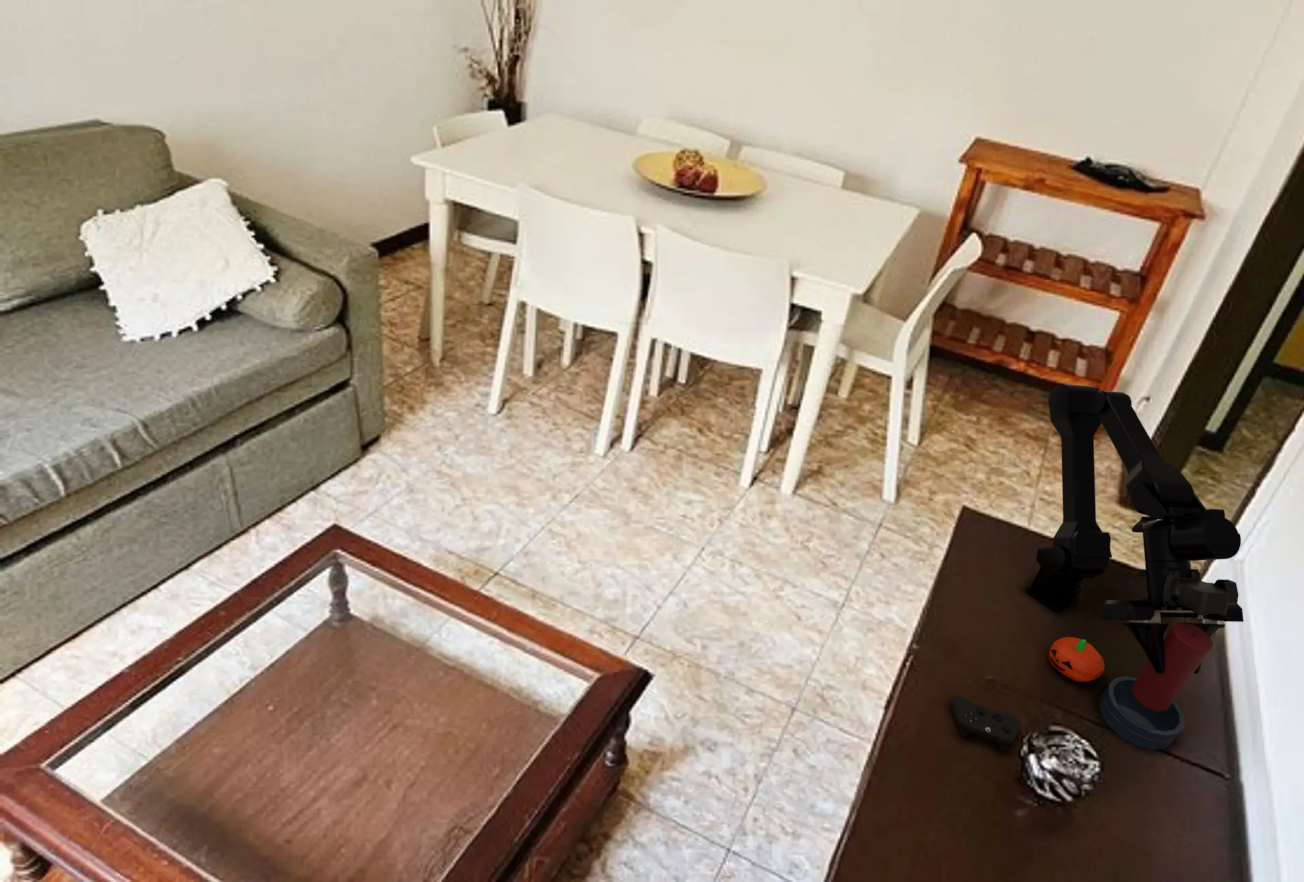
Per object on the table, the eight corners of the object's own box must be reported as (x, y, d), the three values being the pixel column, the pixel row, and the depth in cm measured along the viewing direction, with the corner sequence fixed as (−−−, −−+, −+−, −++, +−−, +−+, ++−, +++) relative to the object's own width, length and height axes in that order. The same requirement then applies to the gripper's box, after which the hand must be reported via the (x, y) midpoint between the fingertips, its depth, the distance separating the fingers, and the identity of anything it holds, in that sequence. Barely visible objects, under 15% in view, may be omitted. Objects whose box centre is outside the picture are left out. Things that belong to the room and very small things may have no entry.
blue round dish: (1086, 712, 131) (1096, 696, 129) (1117, 681, 137) (1127, 666, 135) (1155, 762, 125) (1166, 747, 123) (1184, 728, 131) (1195, 712, 129)
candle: (1130, 700, 127) (1175, 635, 120) (1132, 677, 131) (1175, 613, 124) (1168, 717, 125) (1216, 652, 118) (1168, 693, 129) (1214, 629, 122)
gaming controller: (1017, 716, 127) (1029, 719, 121) (1008, 753, 126) (1020, 758, 120) (951, 693, 129) (959, 695, 123) (941, 729, 128) (949, 732, 122)
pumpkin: (1092, 697, 133) (1110, 669, 130) (1039, 671, 136) (1056, 643, 133) (1099, 669, 139) (1116, 641, 135) (1048, 645, 142) (1064, 617, 138)
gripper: (1152, 558, 117) (1162, 678, 114) (1271, 561, 120) (1284, 678, 117) (1095, 561, 127) (1103, 671, 125) (1206, 564, 131) (1216, 671, 128)
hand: (1177, 673), depth 123 cm, fingers closed on candle, 5 cm apart
